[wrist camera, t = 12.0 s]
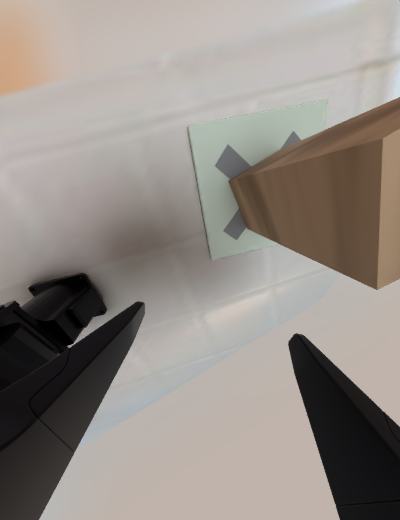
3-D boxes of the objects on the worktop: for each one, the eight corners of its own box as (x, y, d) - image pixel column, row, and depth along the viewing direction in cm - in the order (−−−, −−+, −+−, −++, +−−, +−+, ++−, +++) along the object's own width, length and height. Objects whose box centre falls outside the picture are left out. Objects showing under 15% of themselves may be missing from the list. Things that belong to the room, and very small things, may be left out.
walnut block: (247, 229, 18) (377, 290, 7) (228, 180, 16) (382, 138, 4) (291, 203, 18) (516, 220, 6) (278, 150, 15) (618, 1, 4)
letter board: (210, 258, 20) (212, 260, 19) (187, 128, 14) (188, 124, 13) (305, 235, 21) (311, 236, 20) (321, 103, 15) (329, 98, 14)
